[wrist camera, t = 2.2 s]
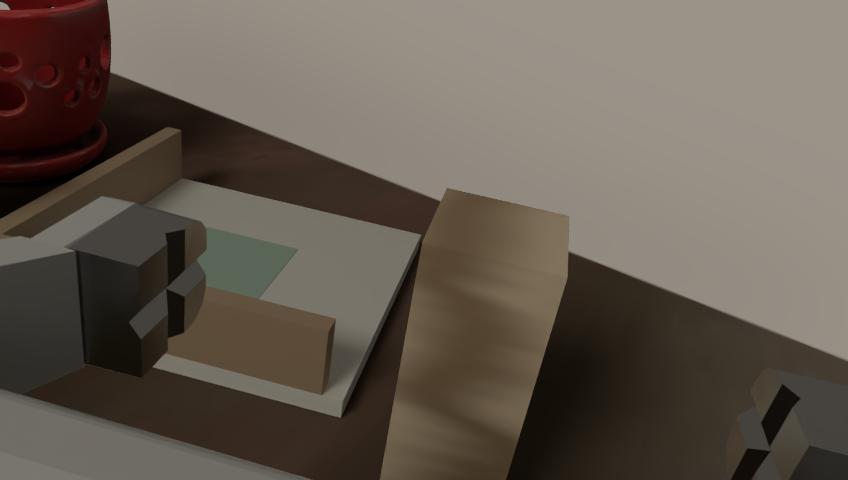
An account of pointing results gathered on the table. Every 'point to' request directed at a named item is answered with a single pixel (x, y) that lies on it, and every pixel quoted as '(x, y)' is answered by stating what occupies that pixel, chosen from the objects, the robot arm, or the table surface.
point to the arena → (256, 278)
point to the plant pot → (52, 86)
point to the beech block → (475, 338)
